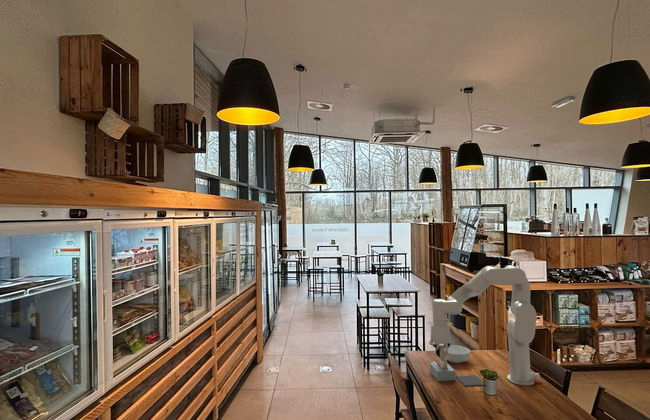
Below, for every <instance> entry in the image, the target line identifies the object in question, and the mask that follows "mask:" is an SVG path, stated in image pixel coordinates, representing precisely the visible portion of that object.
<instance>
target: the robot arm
mask: <svg viewBox="0 0 650 420" xmlns="http://www.w3.org/2000/svg"><path fill="white" fill-rule="evenodd" d="M491 285H501V286H502V285H503V286H504V285H506V286H507V285H510V286H511V302H510V311H511V314H513V316H515V318H512V319H510V320H509V321H508V322H507V324H506V334H507V339H508V353H509V354H508V362H509V373H508V374H507V375H506V380H507V381H508V382H510V383H512V384H515V385H518V386H526V387H527V386H532V385H534V384H535V379H534V378H540V377H541V375H540V373H539V372H534V371H531V361H530V360H531V359H530V343H532V342H533V340H534V338H535V335H536V327H537V326H536V325H537V311H536V309H535V307H534V306H533V305H532V304H531V284H530V281H529V279H528V277H527V274H526V272H525V271H524V270H523V269H522V268H520V267H517V266H514V265H510V264H508V265H505V266H504V267H503V268H502V267H500V268H499V267H494V266H492V265H486V266H485V267H483V268H481V269H480V270H479V271H478V272H477V273H476V274H475V275H474V276H473V277H471V279H469V280H468V281H467V282H466V283H465V284H463V285H462V286H460V287H459V288H457V289H456V290H455V291H454V292H453V293H452V294H451V295H450V296H449V297H448V298H446V300H445V299H442V298H435V299H433V300H432V303H431V304H432V323H431V326H430V340H429V342H428V343H429V345H430V346H432V347H434V348H435V355H436V357H437V356H438V357H440V350H439V344H443V345H444V346H445V347H446V348H447V349H448V347H449V346H450V345H454V341H453V339H452V336H451V328H450V325H449V324H448V323H450V322H451V321H450V319H448V314H449V315H459V314H461V313H462V311H463V306H462V304H463V303H465V302H466V301H467V300H468V299H470V298H473V297H478V296H480V295H481V294H482V293H483V292H484V291H485V290H486V289H487V288H488V287H490V286H491ZM447 354H448V353H447Z"/></svg>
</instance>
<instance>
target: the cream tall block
mask: <svg viewBox="0 0 650 420" xmlns="http://www.w3.org/2000/svg"><path fill="white" fill-rule="evenodd" d="M439 350H440V357H438V356H437V355H436V363H437V366H438V367H439V368H440V369H441V370H446V369H447V363H448V360H447V348H446V347H445V346H444V344H439Z"/></svg>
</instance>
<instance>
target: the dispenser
mask: <svg viewBox="0 0 650 420" xmlns="http://www.w3.org/2000/svg"><path fill="white" fill-rule="evenodd" d="M429 371H430V373H431V375H432V376H433V377H434V378H435V380H437V381H438V382H442V381H443V382H447V381H448V382H449V381H456V372H455V371H456V370H455V369H454V368H453V367H452V366H451V365H450V364H449V363H448V362H447V369H446V370H441V369H440V368H439V367H438V366H437V362H435V361H432V362H430V363H429Z"/></svg>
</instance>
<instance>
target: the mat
mask: <svg viewBox="0 0 650 420" xmlns="http://www.w3.org/2000/svg"><path fill="white" fill-rule="evenodd" d="M455 379H456V380H458V382H459V383H461V385H463V387H480V386H483V382H484V381H483V380H481V378H479V376H477V375H476V374H475V375H455Z"/></svg>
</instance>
